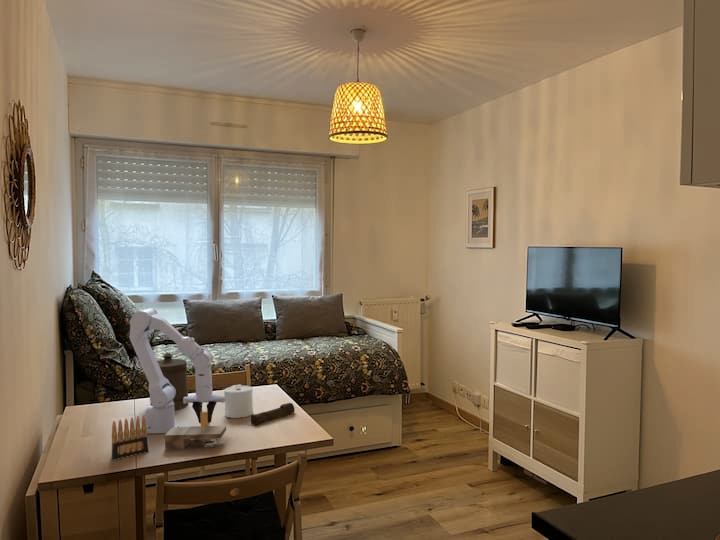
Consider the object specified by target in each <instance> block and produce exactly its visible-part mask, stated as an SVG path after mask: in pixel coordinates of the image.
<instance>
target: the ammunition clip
mask: <svg viewBox="0 0 720 540" xmlns="http://www.w3.org/2000/svg"><path fill="white" fill-rule="evenodd" d="M140 421H141V422H140ZM123 426H124V429H123ZM111 427H112V428H111V459H112V460H113V461H114V459H115V460H118V458H119V459H123V458H122V457H124V458H128V457H132V456H131V455H133V456H136V455H135V454H137V455H140V454H139V453H142V454H145V453H144V452H146V453H149V443H148V434H147V428H146V418H145V415H144V414H142V417H141V420H140V418H139V416H136V418H135V420H134V418H133V417H130V422H129V421H128V419H127V418H125V419H124V425H123V422H122V420H121V419H119V420H118V426H117V424H116V422H115V420H113V421H112V426H111ZM117 427H118V428H117ZM117 429H118V430H117ZM127 456H128V457H127Z"/></svg>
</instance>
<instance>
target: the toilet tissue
mask: <svg viewBox="0 0 720 540" xmlns="http://www.w3.org/2000/svg"><path fill="white" fill-rule="evenodd" d="M223 391H224V393H223V394H224V396H225V402H224V415H225V417H227V418H229V417H230V419H242V418H247V417H251V415H254V407H253V406H254V404H253V402H254V401H253V387H252V386H251V385H250V386H249V385H242V383H239V384H234V385H232V386H229V387H225V388H224V390H223ZM241 417H242V418H241Z"/></svg>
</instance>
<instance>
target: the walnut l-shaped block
mask: <svg viewBox="0 0 720 540" xmlns="http://www.w3.org/2000/svg"><path fill="white" fill-rule="evenodd" d="M225 432H227V425H210V426H201V425H200V426H199V425H198V426H197V425H195V426H178V427H172V428H171V429H170V430H169V431H168V432H167V433H164V450H165V451H185V449H186V448H187V447H188V445H190V443H191V442H192V440H194V439H199V440H207V439H216V440H217V439H221V438H222V437H223V436H224V434H225ZM190 441H191V442H190ZM186 446H187V447H186Z"/></svg>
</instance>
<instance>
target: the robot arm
mask: <svg viewBox="0 0 720 540" xmlns="http://www.w3.org/2000/svg"><path fill="white" fill-rule="evenodd" d="M129 325H130V327H129V337H128V338H129V340H130V342H131V345H132V347H133V350H134V352H135V354H136V357H137V358H138V361H139V363H140V365H141V367H142V370H143V372H144V373H143V374H144V375H145V376H146V380H147V382H148V392H149V403H150V402H151V404H152V405H153V406H151V405H148V406H147V407H146V409H145V415H144V417H145V421H146V428H147V435H149V434H166V433H167V432H168V431H169V430H170V429H171V428H172V427H180V425H179V424H176V421H175V410H174V402H173V398H174V397H175V395H176V390H175V388H174V387H173V386H172V385H171V384H170V383H169V380H168V379H166V378H165V377H164V376H163V374H162V371H161V369H160V367H159V364H158V362H157V361H158V359H157V358H156V355H155V354H154V353H155V352H154V351H153V349H152V346H151V344H150V342H149V339H148V337H147V336H148V334H149V332H150V331H151V330H153V331H154V330H156V331H160V332H161V333H162V334H164V335H165V336H166V337H167V338H169V339H170V340H172V341H173V342H174V343H175V344H176V347H177V350H178V351H179V352H180V353H182V355H184V356H185V357H186V358H188V360H190V361H191V363H192V366H193V367H194V371H195V374H194V379H195V395H191V396H190V395H189V396H188V397H184V398H183V403H184V404H186V403H188V404H192V405H191V407H192V409H193V411H194V412H195V415H196V417H197V421H198V424H201V420H200V412H201V411H202V410H203V403H207V404H206V410H207V412H208V423H210V424H211V422H212V419H213V413H214V410H215V408H216V405H217V403H221V404H225V395H218V394H217V395H215V394H213V374H212V373H213V371H212V362H213V361H214V355H213V353H212V352H211V351H210V350H209V349H205V347H203V346H200V345H199V344H198V343H197V342H196V341H195V338H194V337H190V336H184V335H183V334H182V333H180V332H179V331H178V329H176V328H175V327H174V326H173V325H172V324H171V323H170V322H169V321H168V320H167V319H166V318H165V317H164V316H163V315H162V314H161V313H159V312H158V311H157V310H156V309H155V308H152V307H147V308H145V309H143V310H138V311H136V312H134V313H133V315H131V318H130V320H129Z"/></svg>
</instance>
